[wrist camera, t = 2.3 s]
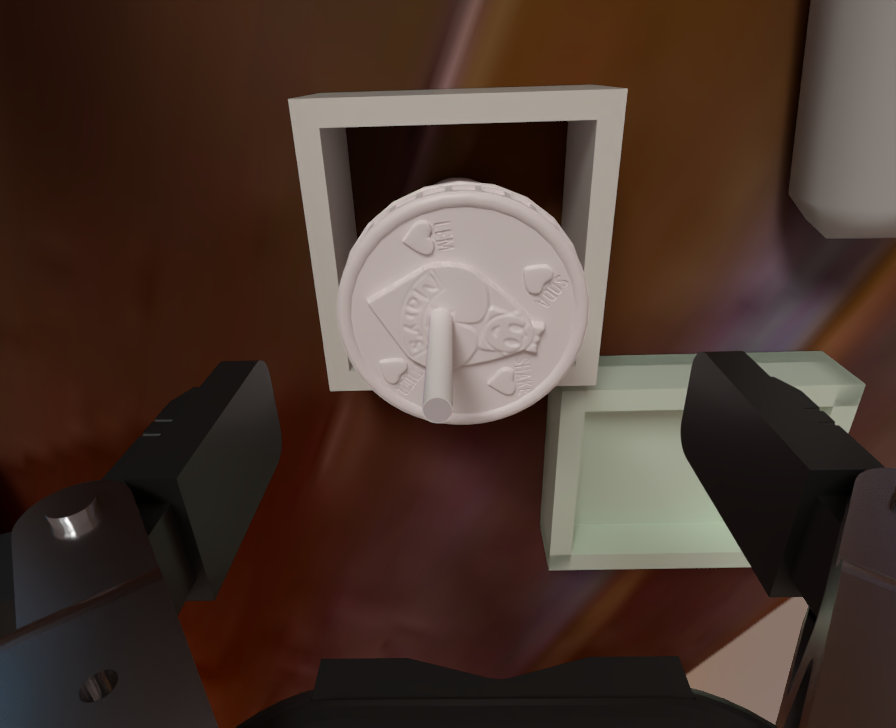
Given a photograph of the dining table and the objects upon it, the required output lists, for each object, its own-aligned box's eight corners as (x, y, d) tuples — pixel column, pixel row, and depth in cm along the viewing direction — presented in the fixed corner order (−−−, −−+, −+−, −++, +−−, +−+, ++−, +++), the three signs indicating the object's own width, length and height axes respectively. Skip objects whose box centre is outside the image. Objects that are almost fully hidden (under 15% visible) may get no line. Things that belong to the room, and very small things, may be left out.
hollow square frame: (349, 339, 25) (330, 391, 21) (319, 93, 20) (287, 99, 16) (572, 334, 25) (596, 385, 21) (592, 84, 20) (627, 88, 16)
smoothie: (394, 120, 21) (310, 197, 8) (560, 161, 21) (711, 290, 9) (366, 282, 24) (273, 517, 11) (513, 314, 24) (578, 569, 12)
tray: (539, 525, 30) (548, 570, 27) (550, 357, 25) (562, 391, 23) (768, 521, 30) (800, 566, 27) (821, 351, 25) (865, 384, 22)
